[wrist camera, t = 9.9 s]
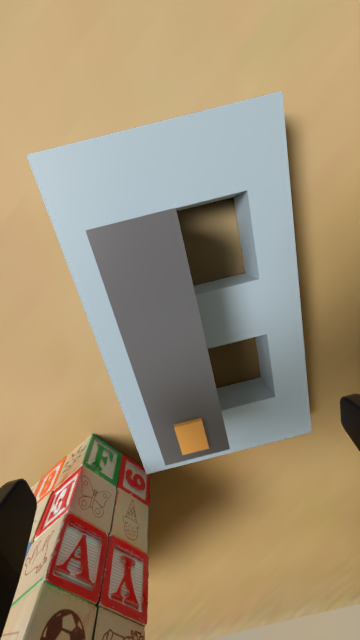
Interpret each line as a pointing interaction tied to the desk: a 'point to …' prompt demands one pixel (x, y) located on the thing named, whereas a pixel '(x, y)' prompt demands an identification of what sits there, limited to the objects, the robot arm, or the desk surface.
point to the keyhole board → (212, 297)
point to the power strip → (162, 331)
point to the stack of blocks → (86, 551)
